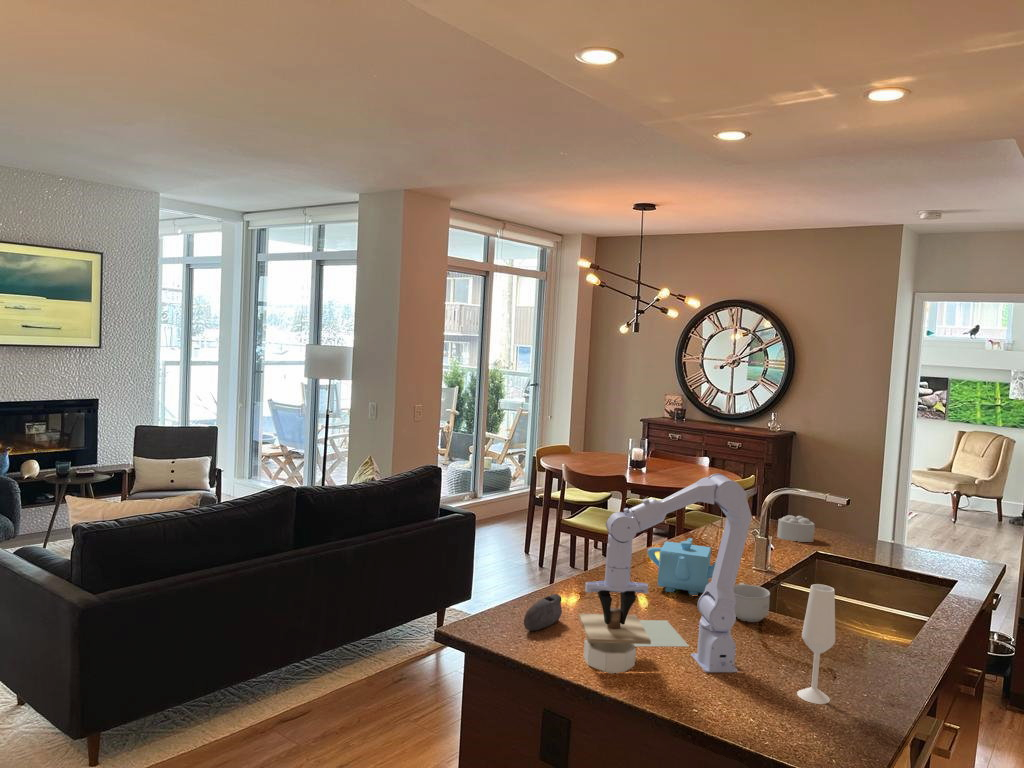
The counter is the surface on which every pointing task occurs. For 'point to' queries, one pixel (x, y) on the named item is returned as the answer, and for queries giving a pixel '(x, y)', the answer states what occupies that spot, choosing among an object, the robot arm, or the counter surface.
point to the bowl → (610, 656)
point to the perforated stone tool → (543, 613)
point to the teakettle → (683, 566)
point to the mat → (661, 634)
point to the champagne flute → (818, 635)
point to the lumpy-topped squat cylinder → (795, 529)
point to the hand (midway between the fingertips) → (614, 622)
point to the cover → (614, 628)
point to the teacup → (751, 602)
